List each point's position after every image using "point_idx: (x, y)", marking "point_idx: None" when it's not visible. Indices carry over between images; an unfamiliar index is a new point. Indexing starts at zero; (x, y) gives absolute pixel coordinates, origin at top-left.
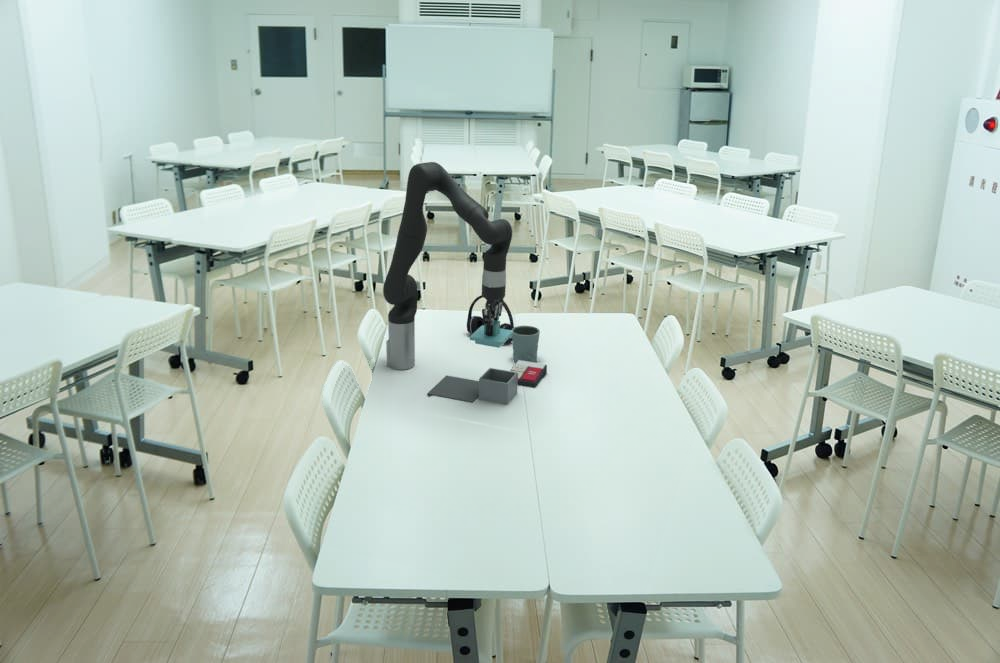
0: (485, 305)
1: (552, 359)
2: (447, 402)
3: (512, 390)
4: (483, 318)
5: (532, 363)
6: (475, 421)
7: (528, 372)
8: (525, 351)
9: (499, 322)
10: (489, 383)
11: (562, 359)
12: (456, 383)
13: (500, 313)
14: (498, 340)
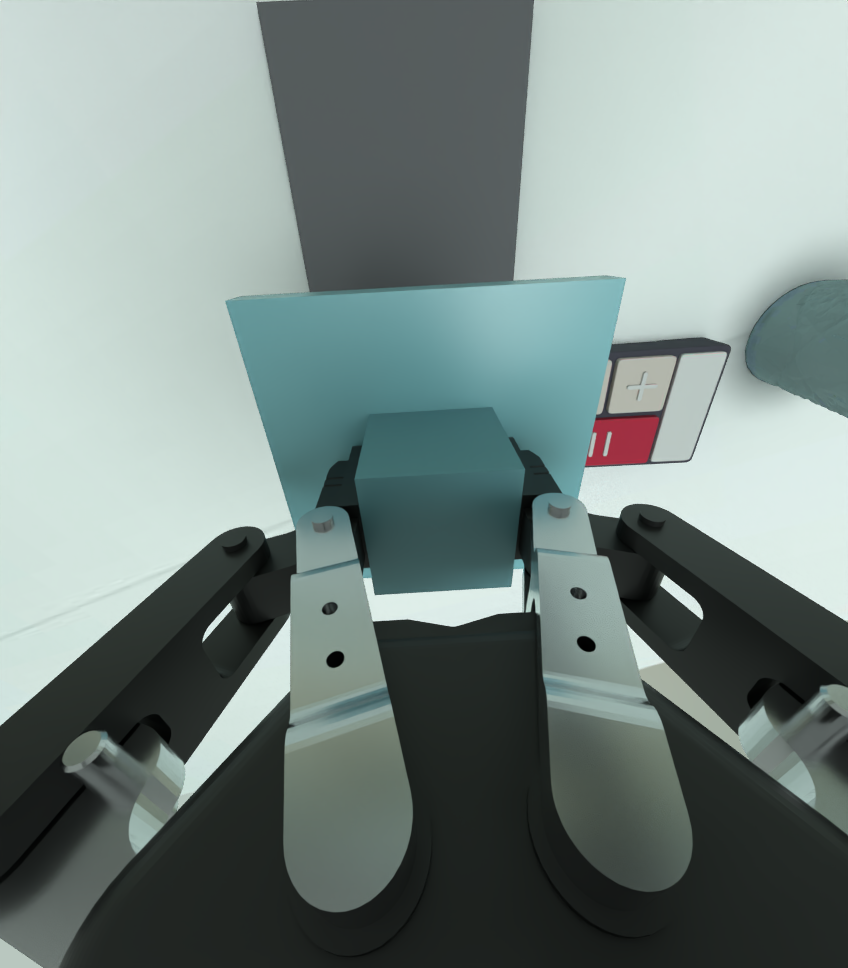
0: (290, 805)
1: (802, 425)
2: (267, 185)
3: None
4: (132, 626)
5: (692, 416)
6: (205, 379)
7: (603, 431)
8: (795, 368)
9: (484, 581)
10: None
11: (800, 453)
12: (449, 131)
13: (627, 610)
14: None
